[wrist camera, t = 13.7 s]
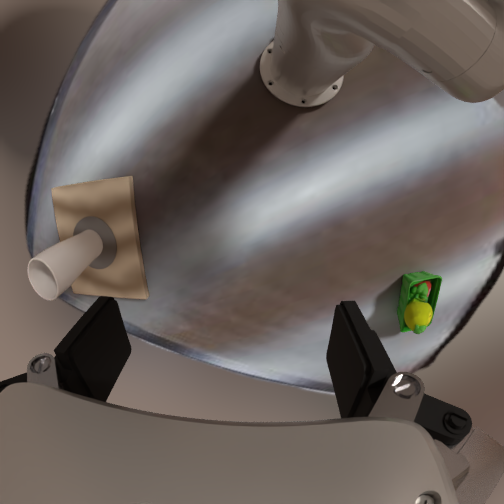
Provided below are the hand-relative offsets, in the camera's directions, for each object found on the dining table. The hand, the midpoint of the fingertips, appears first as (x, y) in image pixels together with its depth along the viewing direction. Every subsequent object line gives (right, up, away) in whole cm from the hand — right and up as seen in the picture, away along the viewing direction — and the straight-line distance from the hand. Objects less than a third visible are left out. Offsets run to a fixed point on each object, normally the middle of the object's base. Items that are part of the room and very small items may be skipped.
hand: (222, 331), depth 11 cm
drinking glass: (-27, +5, +32) cm, 42 cm away
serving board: (-27, +5, +33) cm, 43 cm away
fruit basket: (+32, -5, +36) cm, 48 cm away
